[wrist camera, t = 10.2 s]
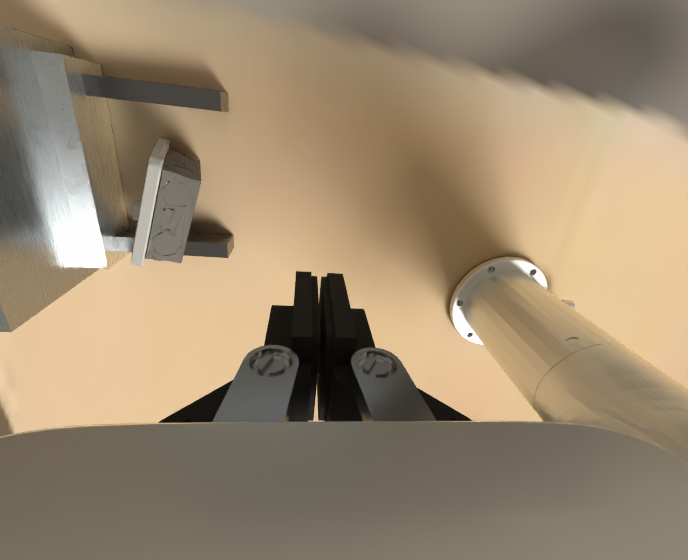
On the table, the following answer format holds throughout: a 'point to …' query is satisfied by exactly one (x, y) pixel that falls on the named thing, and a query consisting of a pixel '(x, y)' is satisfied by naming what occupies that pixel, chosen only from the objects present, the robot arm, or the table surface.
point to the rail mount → (67, 172)
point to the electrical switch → (165, 205)
